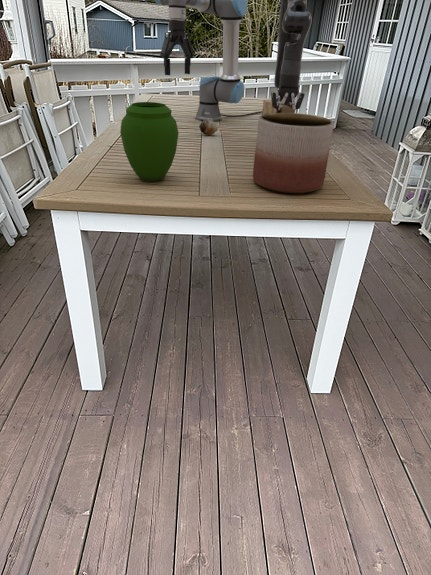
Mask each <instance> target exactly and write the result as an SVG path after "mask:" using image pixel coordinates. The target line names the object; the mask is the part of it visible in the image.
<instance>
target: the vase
mask: <svg viewBox="0 0 431 575" xmlns="http://www.w3.org/2000/svg"><path fill="white" fill-rule="evenodd" d="M125 113H126V114H125V115H124V117H122V119H121V122H120V123H121V124H120V130H119V133H120V138H121V142H122V147H123V150H124V154H125V155H126V158H127V160H128V163H129V165H130V167H131V168H132V170H133V172H134V173H135V175H136V176H137V177H138V178H139V179H141V180H143V181H145V182H159V181H161V180H163V179H164V178H165V176H166V175H167V174H168V173H169V170H170V169H171V167H172V165H173V162H174V159H175V157H176V156H175V155H176V153H177V147H178V140H179V129H178V122H177V120H176V119H175V117H174V116H173V115H172V109H171V108H170V107H169V106H167V105H166V104H164V103H162V102H155V101H138V102H132V103H131V104H130V105H128V107H127V108H125Z"/></svg>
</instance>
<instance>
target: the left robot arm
mask: <svg viewBox="0 0 431 575" xmlns="http://www.w3.org/2000/svg"><path fill="white" fill-rule="evenodd" d="M153 1H154V2H155V4H157V5H162V6H163V5H166V6H168V19H169V21H168V30H169V31H170V32H164V39H163V43H162V47H161V49H160V53H159V56H160V58H161V59H163V67H164V75H165V76H171V58H170V56H171V54H172V52H173V51H174V48H175V46H178V45H179V46H180V48H181V50H182V52H183V54H184V56H185V57H184V74H185V75H190V74H191V65H192V64H191V61H192V59H193V58H194V57H195V53H194V50H193V45H192V42H191V36H190V33H189V32H188V33H187V32H186V31H187V21H186V19H187V8H188V9H196V11H198V12H202V13H206V14H209V15H212V16H219V21H220V22H221V23H222V74H221V76H206V77H201V78H200V80H199V86H198V87H199V94H198V95H199V100H198V101H199V103H198V104H199V105H198V107H197V111H196V114H195V119H196V120H199V121H202V122H203V121H205V120H208V119H212V120H213V121H214V122H218V121H221V120H222V117H227V118H228V117H229V118H240V117H246V116H252V115H255V114H262V111H263V110H259V111H254V112H250V113H246V114H234V115H232V114H231V115H230V114H224V113H223V114H222V113H221V110H220V107H219V105H220V103H225V104H226V103H227V104H238V103H240V102H241V100H242V98H243V96H244V92H245V84H244V82H243V81H241V78H242V77H241V76H240V75H239V52H240V51H239V50H240V49H239V48H240V46H239V45H240V23H241V22H242V21H243V17H245V15H246V13H247V10H248V1H247V0H153ZM219 102H220V103H219Z"/></svg>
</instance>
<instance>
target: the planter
mask: <svg viewBox="0 0 431 575" xmlns="http://www.w3.org/2000/svg"><path fill="white" fill-rule="evenodd" d="M334 128H335V121H333V120H332V119H330V118H327V117H324V116H321V115H320V116H319V115H316V114H315V115H314V114H307V113H299V112H295V113H268V114H263V115H262V114H261V115H259V116H258V121H257V132H256V142H255V150H254V159H253V168H252V180H253V181H254V182H255V183H256V184H257V185H258V186H260V187H262V188H263V189H267V190H269V191H273V192H276V193H282V194H307V193H312V192H315V191H317V190H319V189H321V188H322V187H323V185H324V182H325V178H326V173H327V167H328V161H329V156H330V150H331V144H332V139H333V133H334Z"/></svg>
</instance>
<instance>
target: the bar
mask: <svg viewBox="0 0 431 575" xmlns="http://www.w3.org/2000/svg"><path fill="white" fill-rule="evenodd" d="M262 104H263V105H262V110H261V111H262V113H261V115H263V114H268V113H276V109H275V108H273V107H272V100H271V99H263V102H262ZM277 105H278V102H277ZM294 112H295V113H296V110H295V109H293V108H291V107H288V106H286V105H283V106H282V108H281V113H294Z"/></svg>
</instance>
